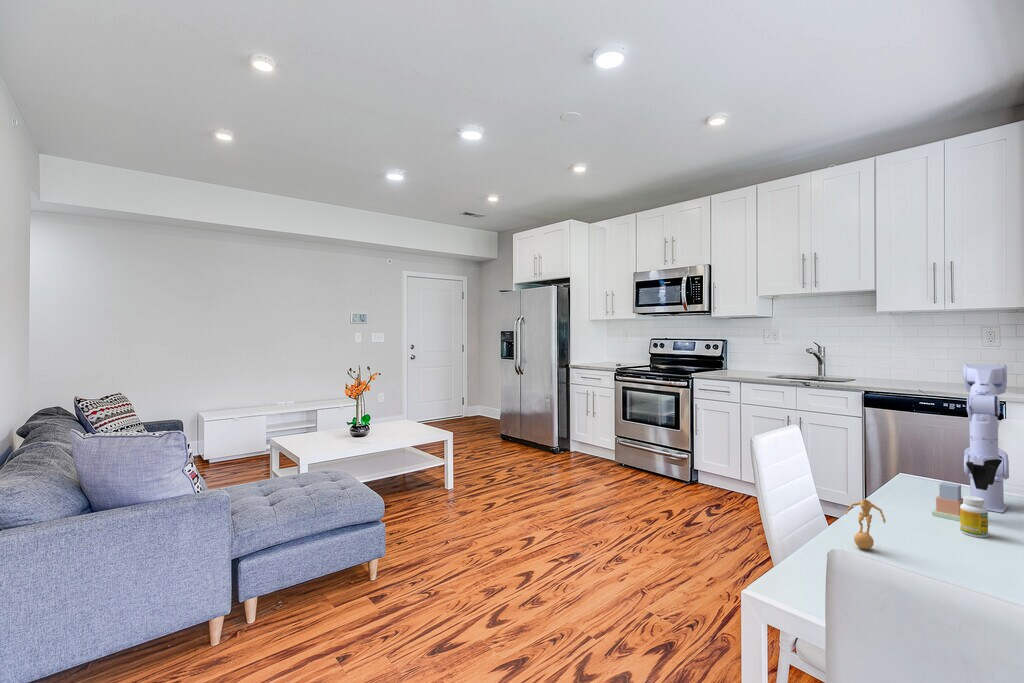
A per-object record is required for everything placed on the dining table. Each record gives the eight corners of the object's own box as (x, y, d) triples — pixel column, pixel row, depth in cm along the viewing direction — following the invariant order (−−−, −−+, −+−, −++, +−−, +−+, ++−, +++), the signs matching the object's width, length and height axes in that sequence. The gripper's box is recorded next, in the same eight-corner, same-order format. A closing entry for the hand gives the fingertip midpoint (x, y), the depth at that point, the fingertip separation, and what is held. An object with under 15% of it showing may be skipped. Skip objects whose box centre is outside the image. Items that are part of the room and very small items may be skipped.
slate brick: (961, 498, 141) (961, 484, 141) (957, 501, 139) (957, 487, 139) (943, 495, 145) (943, 481, 145) (939, 497, 142) (939, 484, 142)
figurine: (841, 545, 123) (841, 498, 123) (849, 539, 127) (848, 493, 127) (882, 556, 117) (881, 506, 117) (888, 549, 121) (887, 500, 121)
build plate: (938, 510, 147) (938, 506, 147) (969, 516, 141) (969, 512, 141) (932, 515, 142) (931, 511, 142) (964, 522, 137) (964, 518, 137)
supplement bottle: (964, 528, 132) (963, 493, 132) (991, 535, 128) (990, 498, 128) (957, 533, 129) (956, 497, 129) (984, 540, 125) (984, 502, 125)
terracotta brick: (940, 507, 146) (940, 494, 146) (963, 512, 142) (963, 498, 142) (936, 511, 142) (936, 497, 142) (959, 516, 139) (959, 501, 139)
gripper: (970, 432, 144) (971, 478, 144) (958, 439, 135) (958, 488, 135) (1004, 436, 138) (1005, 484, 138) (993, 443, 129) (994, 494, 129)
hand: (984, 486), depth 136 cm, fingers open, 7 cm apart
